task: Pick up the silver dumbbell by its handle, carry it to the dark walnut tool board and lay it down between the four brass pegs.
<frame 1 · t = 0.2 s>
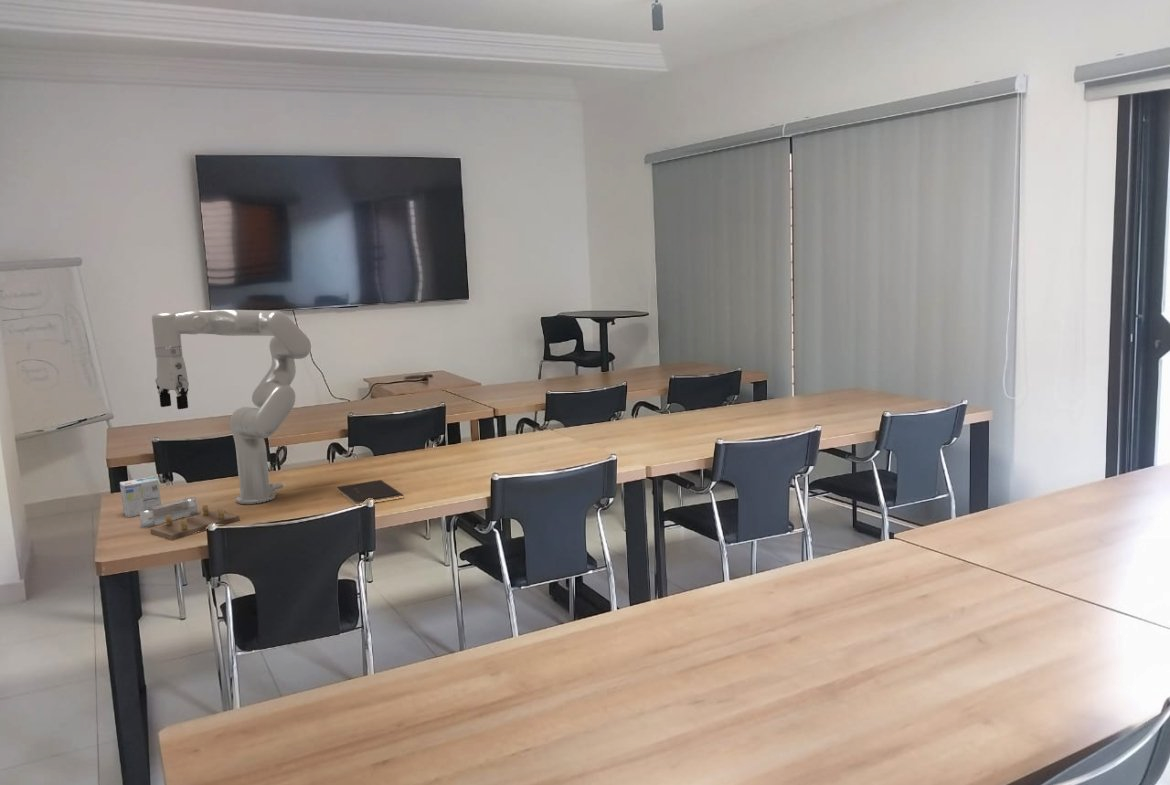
hand: (174, 407, 274), 36 cm above the table, tool pointing down, fingers open, 9 cm apart
tool board: (196, 526, 270), on the table
light bulb box: (142, 512, 289), on the table
silver dumbbell: (170, 519, 279), on the table
hardcover book: (370, 497, 299), on the table
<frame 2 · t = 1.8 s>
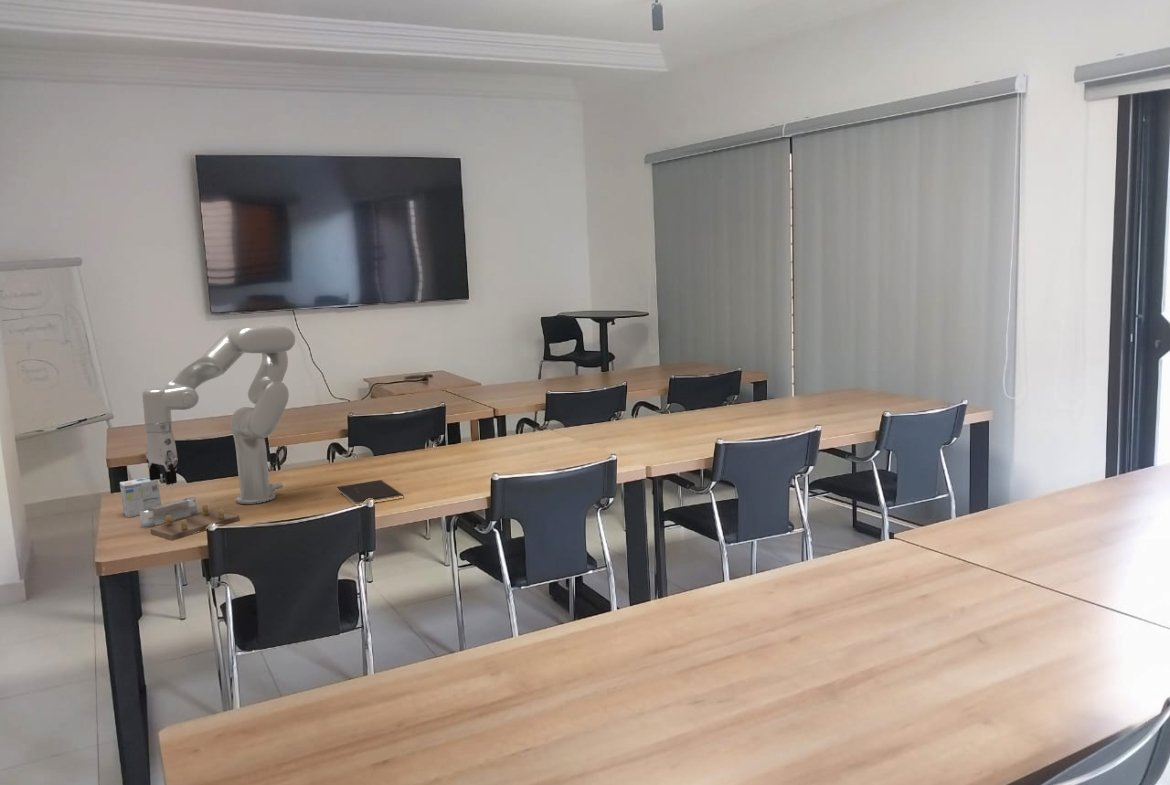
hand: (163, 481, 277), 13 cm above the table, tool pointing down, fingers open, 9 cm apart
nothing on the table moved.
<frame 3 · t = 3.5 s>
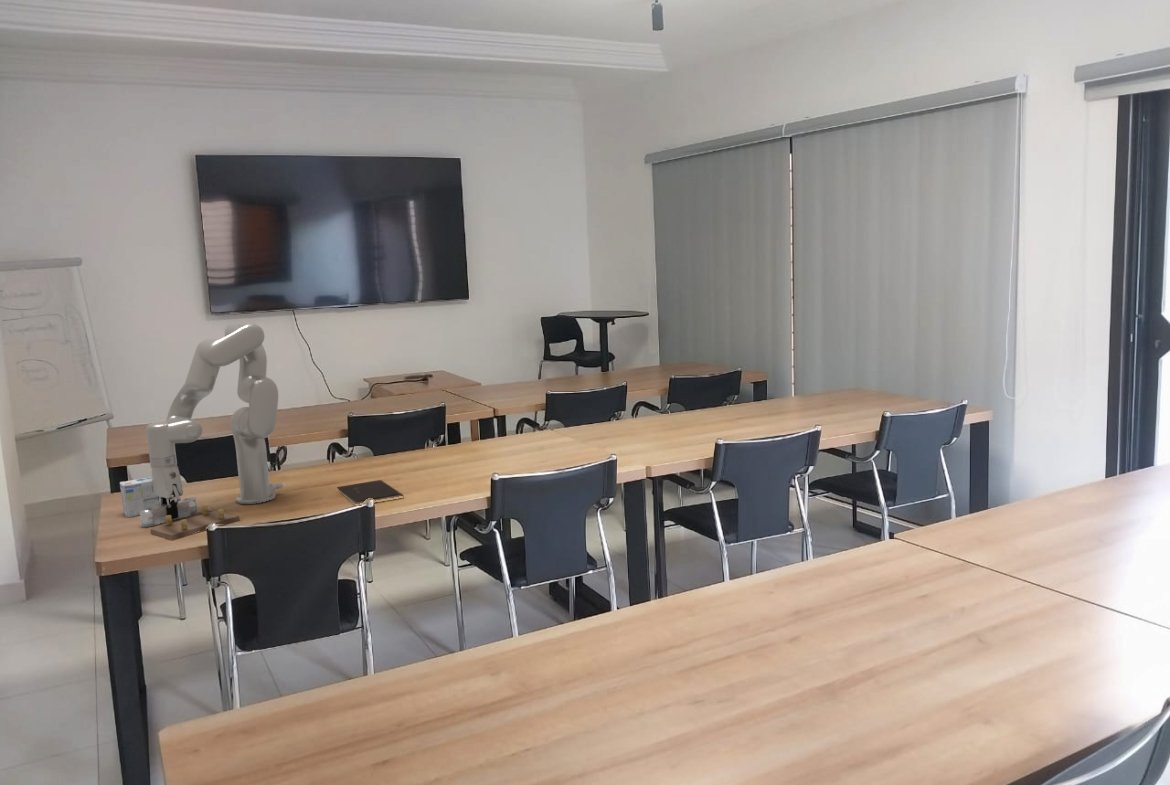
hand: (170, 517, 279), 1 cm above the table, tool pointing down, fingers closed on silver dumbbell, 3 cm apart
silver dumbbell: (170, 519, 279), on the table, touching gripper
everything else where it was.
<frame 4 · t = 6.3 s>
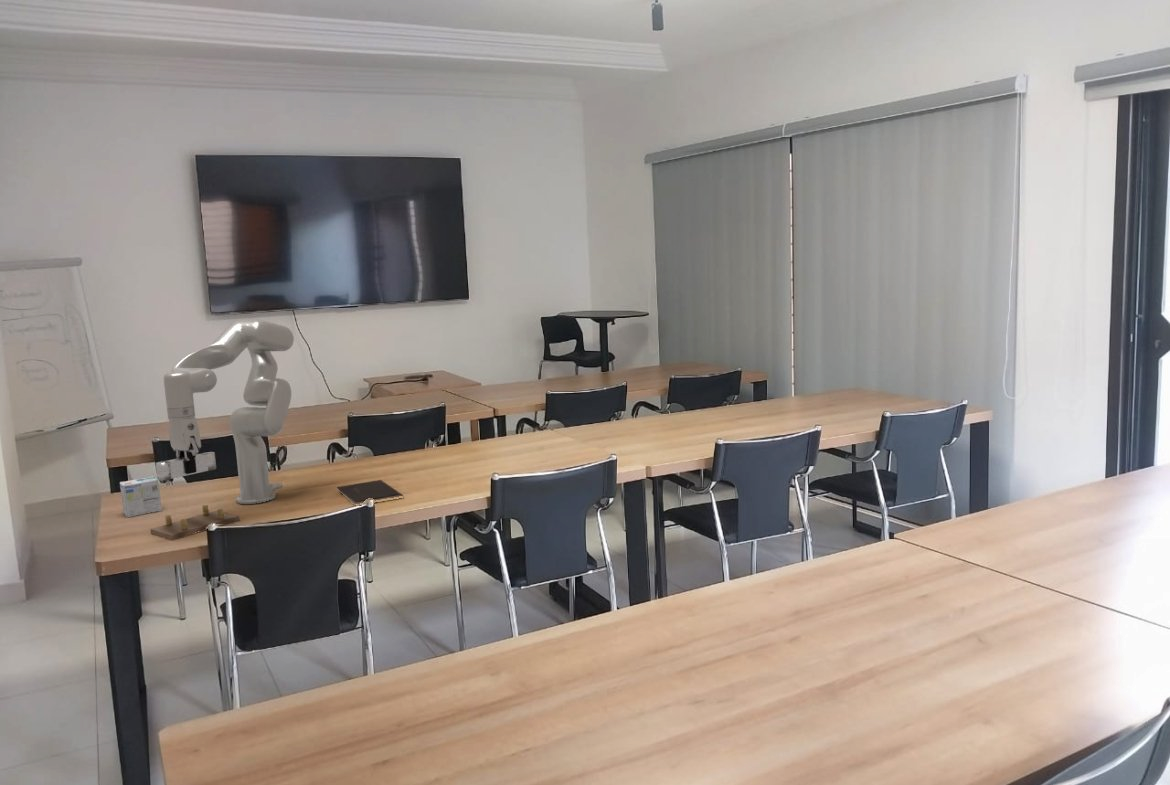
hand: (187, 471, 268), 17 cm above the table, tool pointing down, fingers closed on silver dumbbell, 3 cm apart
silver dumbbell: (187, 473, 268), point 17 cm above the table, touching gripper
everything else where it was.
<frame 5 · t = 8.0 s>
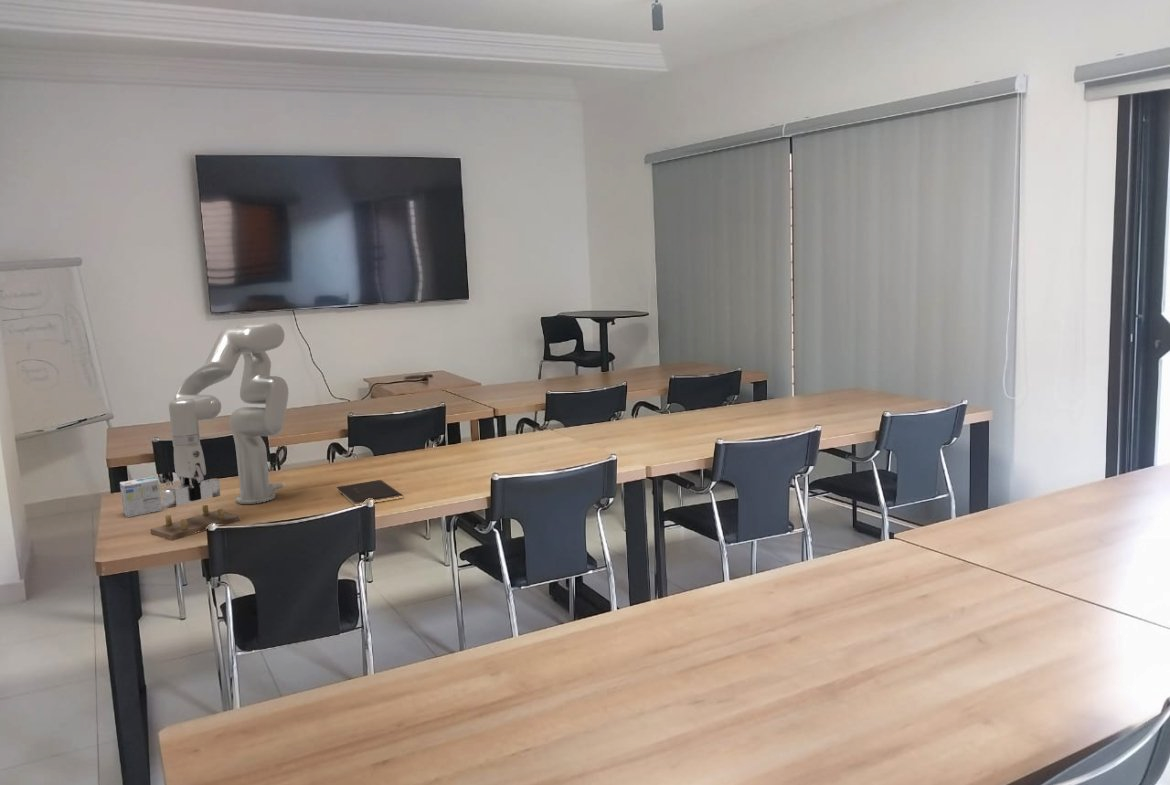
hand: (192, 498, 268), 9 cm above the table, tool pointing down, fingers closed on silver dumbbell, 3 cm apart
silver dumbbell: (192, 500, 268), point 8 cm above the table, touching gripper
everything else where it was.
when the fingers open (4 cm above the table, at t = 9.3 s): silver dumbbell drops 1 cm, resting on tool board.
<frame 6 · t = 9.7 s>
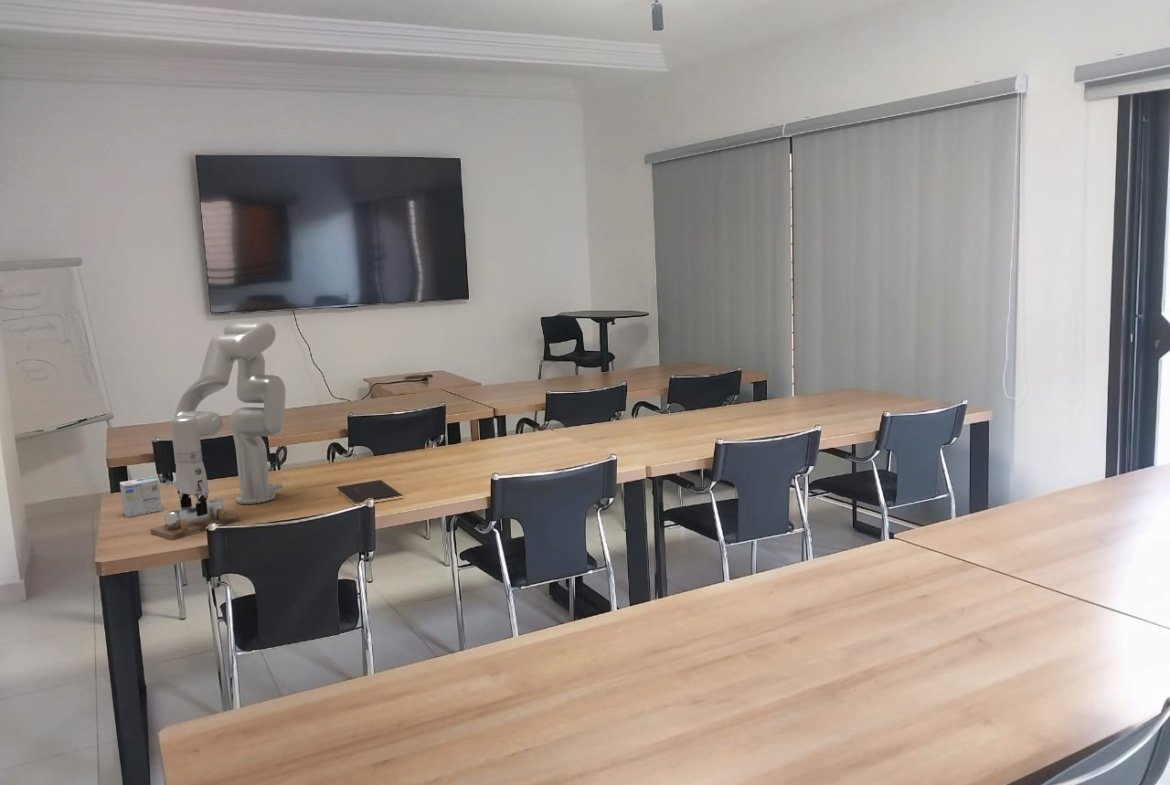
hand: (194, 512, 269), 4 cm above the table, tool pointing down, fingers open, 8 cm apart
silver dumbbell: (196, 521, 270), point 1 cm above the table, touching tool board
everything else where it was.
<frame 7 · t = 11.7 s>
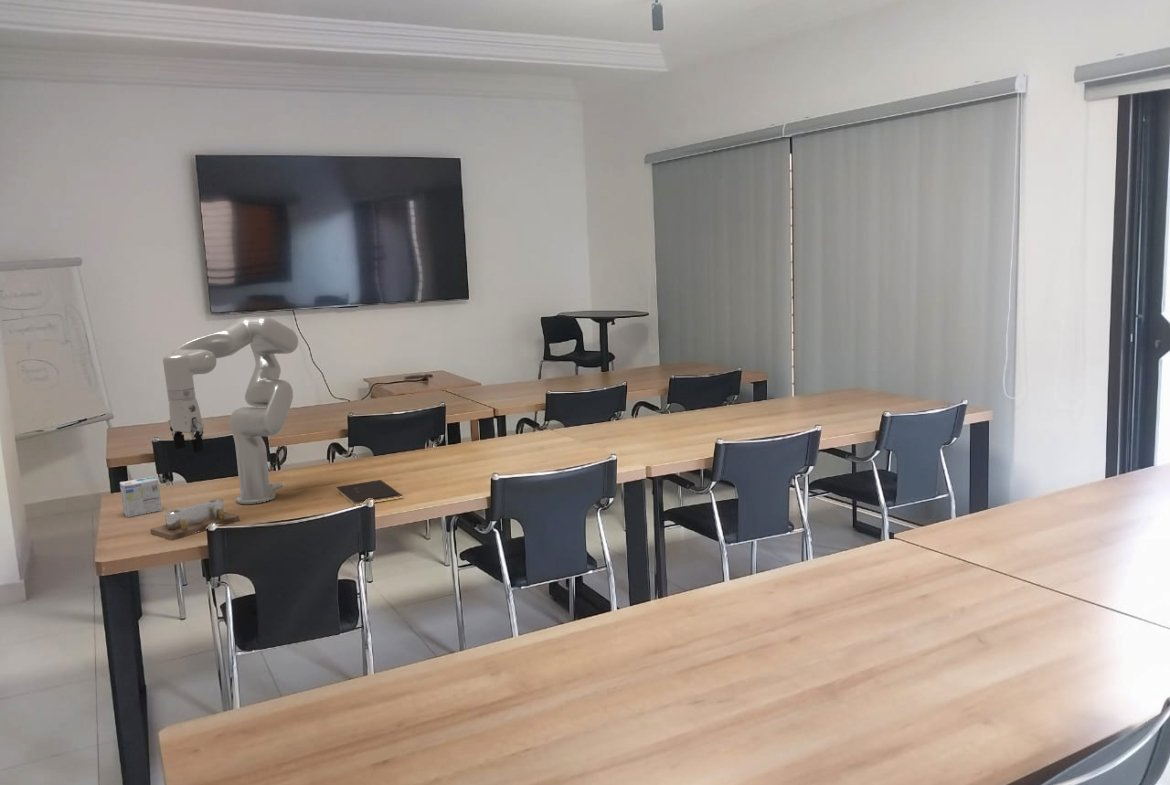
hand: (189, 449, 269), 24 cm above the table, tool pointing down, fingers open, 9 cm apart
nothing on the table moved.
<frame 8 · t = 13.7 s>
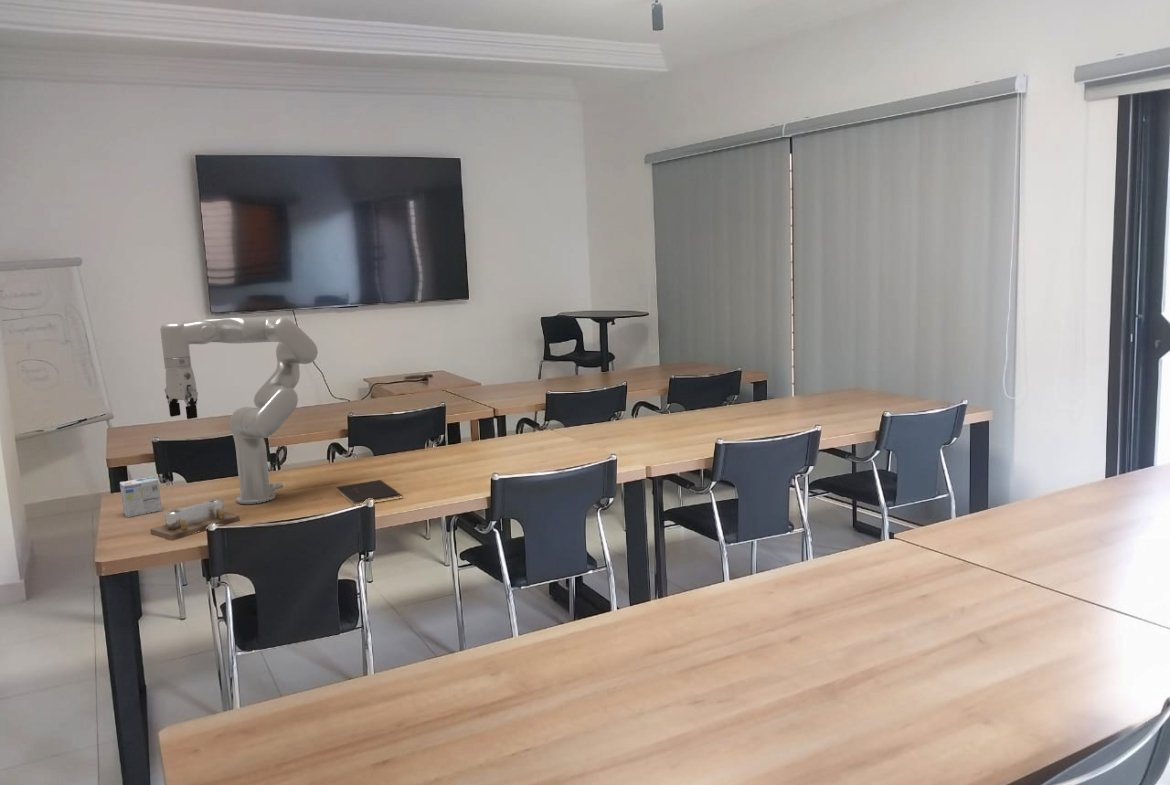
hand: (183, 417, 276), 32 cm above the table, tool pointing down, fingers open, 9 cm apart
nothing on the table moved.
at the end: silver dumbbell 0.3 cm off-centre on the tool board, point 1.5 cm above the tool board's base; silver dumbbell tilted 0°; the gripper is holding nothing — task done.
